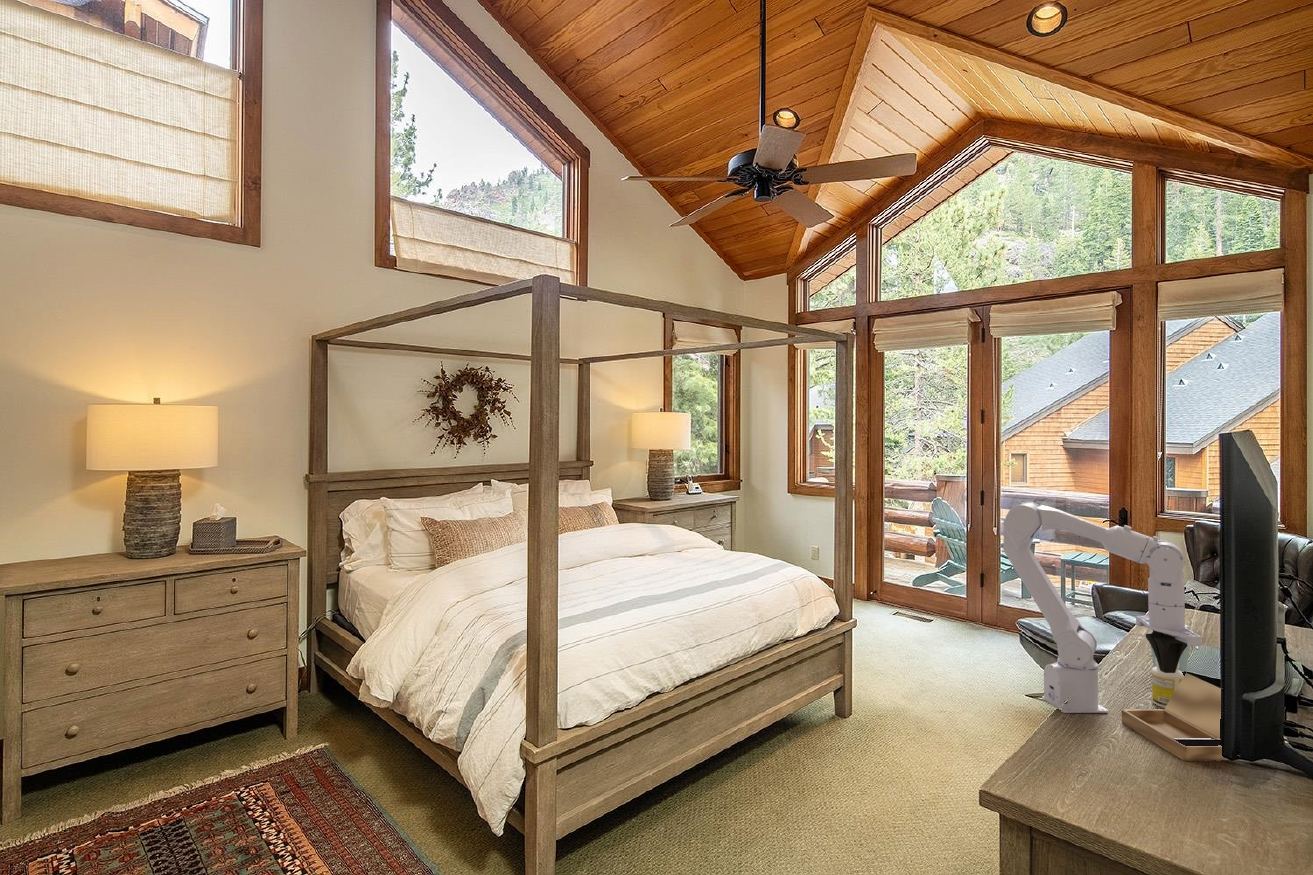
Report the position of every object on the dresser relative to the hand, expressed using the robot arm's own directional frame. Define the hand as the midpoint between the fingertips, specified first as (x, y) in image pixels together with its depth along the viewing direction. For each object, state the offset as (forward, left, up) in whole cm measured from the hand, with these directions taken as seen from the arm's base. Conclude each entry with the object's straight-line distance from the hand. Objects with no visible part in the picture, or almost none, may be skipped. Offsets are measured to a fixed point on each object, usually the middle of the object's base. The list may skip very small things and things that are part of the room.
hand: (1167, 671), depth 131 cm
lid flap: (+2, -7, -4) cm, 8 cm away
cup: (+18, +23, -11) cm, 31 cm away
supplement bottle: (+7, +9, -11) cm, 16 cm away
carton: (-4, -7, -10) cm, 13 cm away
